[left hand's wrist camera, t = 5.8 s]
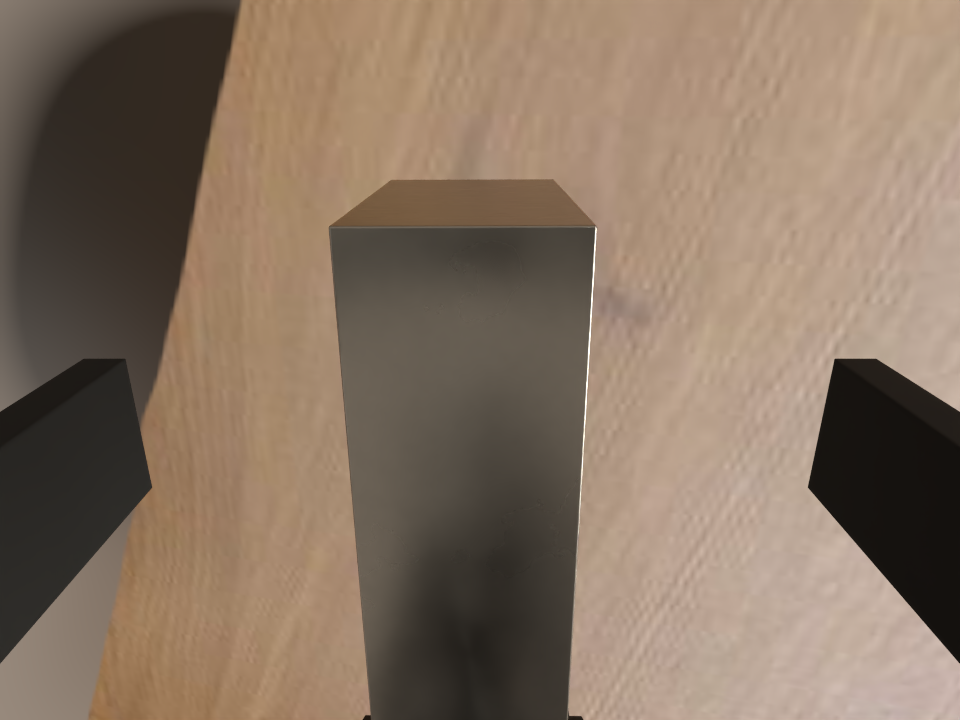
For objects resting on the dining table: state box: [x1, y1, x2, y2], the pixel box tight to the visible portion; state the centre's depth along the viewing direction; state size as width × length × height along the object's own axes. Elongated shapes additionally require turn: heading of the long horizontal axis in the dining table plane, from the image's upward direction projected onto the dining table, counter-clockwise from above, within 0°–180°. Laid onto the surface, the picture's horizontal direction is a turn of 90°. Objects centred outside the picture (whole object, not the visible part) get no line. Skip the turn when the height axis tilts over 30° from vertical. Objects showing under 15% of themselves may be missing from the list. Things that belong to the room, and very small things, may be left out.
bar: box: [329, 179, 597, 720], centre depth 22 cm, size 23×6×10 cm, turn 0°
